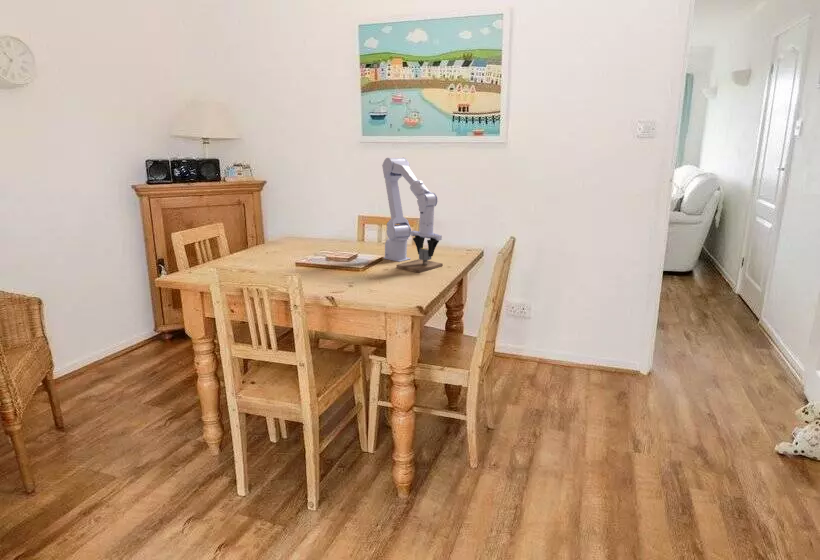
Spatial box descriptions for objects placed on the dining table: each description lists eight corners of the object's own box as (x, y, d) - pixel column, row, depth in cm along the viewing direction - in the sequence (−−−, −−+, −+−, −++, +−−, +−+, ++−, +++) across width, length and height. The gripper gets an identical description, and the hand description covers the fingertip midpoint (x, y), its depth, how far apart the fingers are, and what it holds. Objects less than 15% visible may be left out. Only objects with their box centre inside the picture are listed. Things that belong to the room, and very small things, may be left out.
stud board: (396, 267, 234) (396, 258, 233) (420, 261, 246) (420, 252, 245) (419, 272, 226) (419, 263, 225) (442, 266, 238) (442, 257, 237)
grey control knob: (416, 258, 234) (416, 248, 233) (424, 256, 238) (424, 246, 237) (426, 260, 231) (426, 250, 230) (433, 258, 235) (433, 248, 234)
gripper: (406, 221, 232) (405, 253, 236) (434, 226, 223) (433, 259, 227) (417, 219, 237) (416, 251, 241) (445, 224, 229) (443, 256, 232)
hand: (425, 255), depth 234 cm, fingers closed on grey control knob, 5 cm apart
